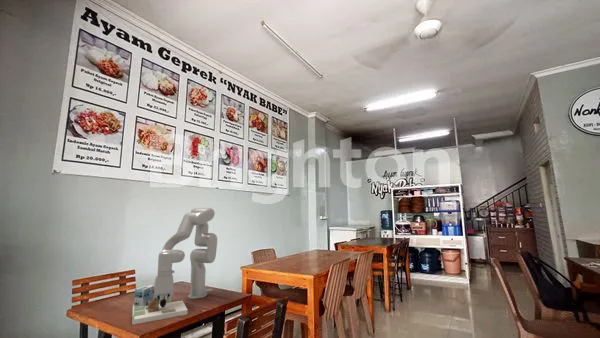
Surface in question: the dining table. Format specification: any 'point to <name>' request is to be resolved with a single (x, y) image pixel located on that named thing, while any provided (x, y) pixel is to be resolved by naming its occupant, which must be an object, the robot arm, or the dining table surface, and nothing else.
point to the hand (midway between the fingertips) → (162, 306)
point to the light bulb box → (143, 295)
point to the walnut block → (153, 306)
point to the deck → (158, 312)
